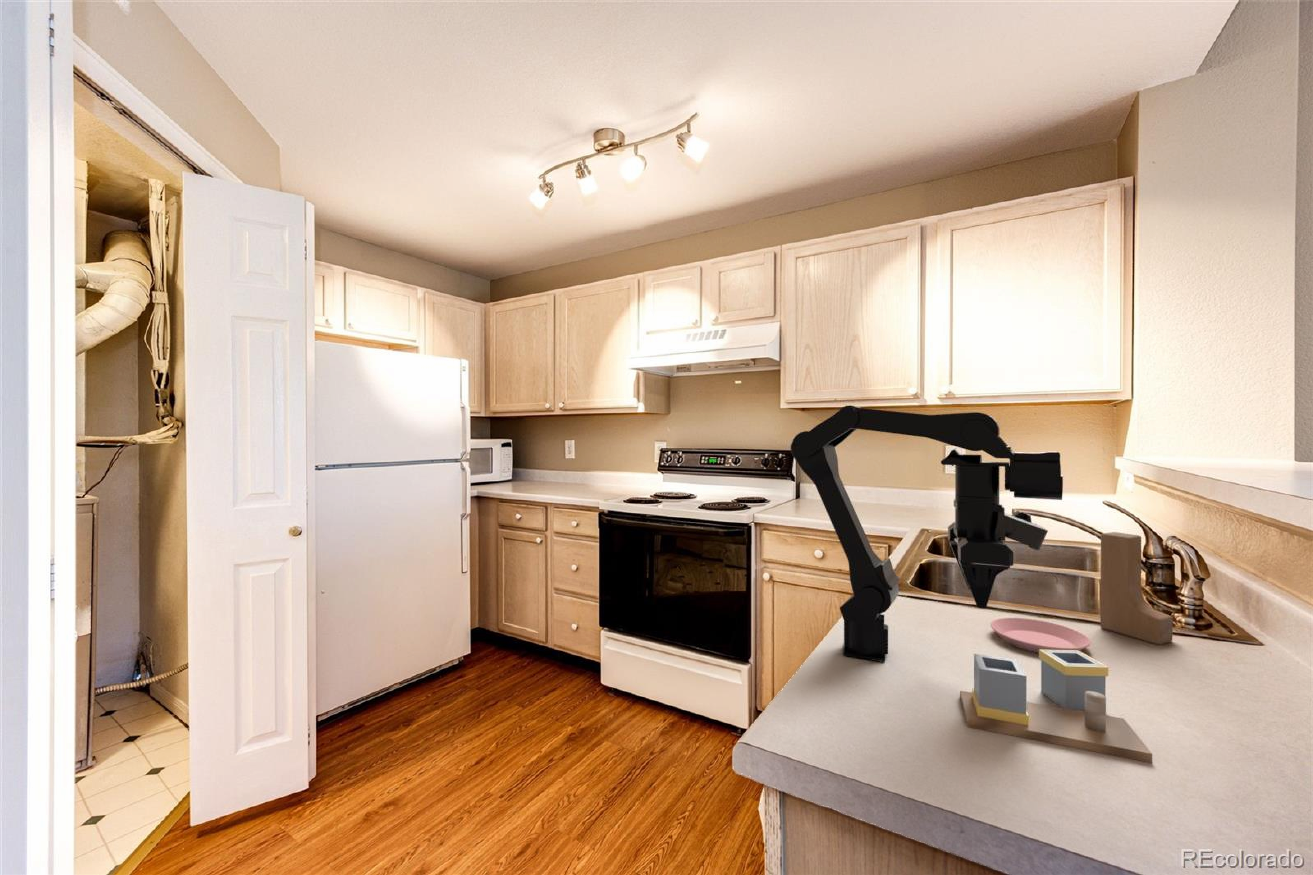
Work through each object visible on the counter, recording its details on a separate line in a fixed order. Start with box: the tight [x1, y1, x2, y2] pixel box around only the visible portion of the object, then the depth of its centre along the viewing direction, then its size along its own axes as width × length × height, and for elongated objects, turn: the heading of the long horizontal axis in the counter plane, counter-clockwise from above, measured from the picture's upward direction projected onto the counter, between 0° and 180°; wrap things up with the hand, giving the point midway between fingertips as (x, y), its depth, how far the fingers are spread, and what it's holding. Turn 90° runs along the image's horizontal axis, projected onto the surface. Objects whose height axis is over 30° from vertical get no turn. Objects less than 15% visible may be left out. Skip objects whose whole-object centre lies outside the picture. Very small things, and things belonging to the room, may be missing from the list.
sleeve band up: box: [1038, 650, 1109, 712], centre depth 73 cm, size 5×5×6 cm
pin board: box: [959, 690, 1153, 764], centre depth 66 cm, size 18×8×5 cm, turn 66°
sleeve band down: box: [971, 653, 1029, 725], centre depth 69 cm, size 5×5×6 cm
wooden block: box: [1099, 531, 1174, 646], centre depth 96 cm, size 9×4×18 cm, turn 24°
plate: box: [990, 617, 1091, 654], centre depth 93 cm, size 14×14×2 cm
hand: (976, 598), depth 80 cm, fingers open, 9 cm apart
